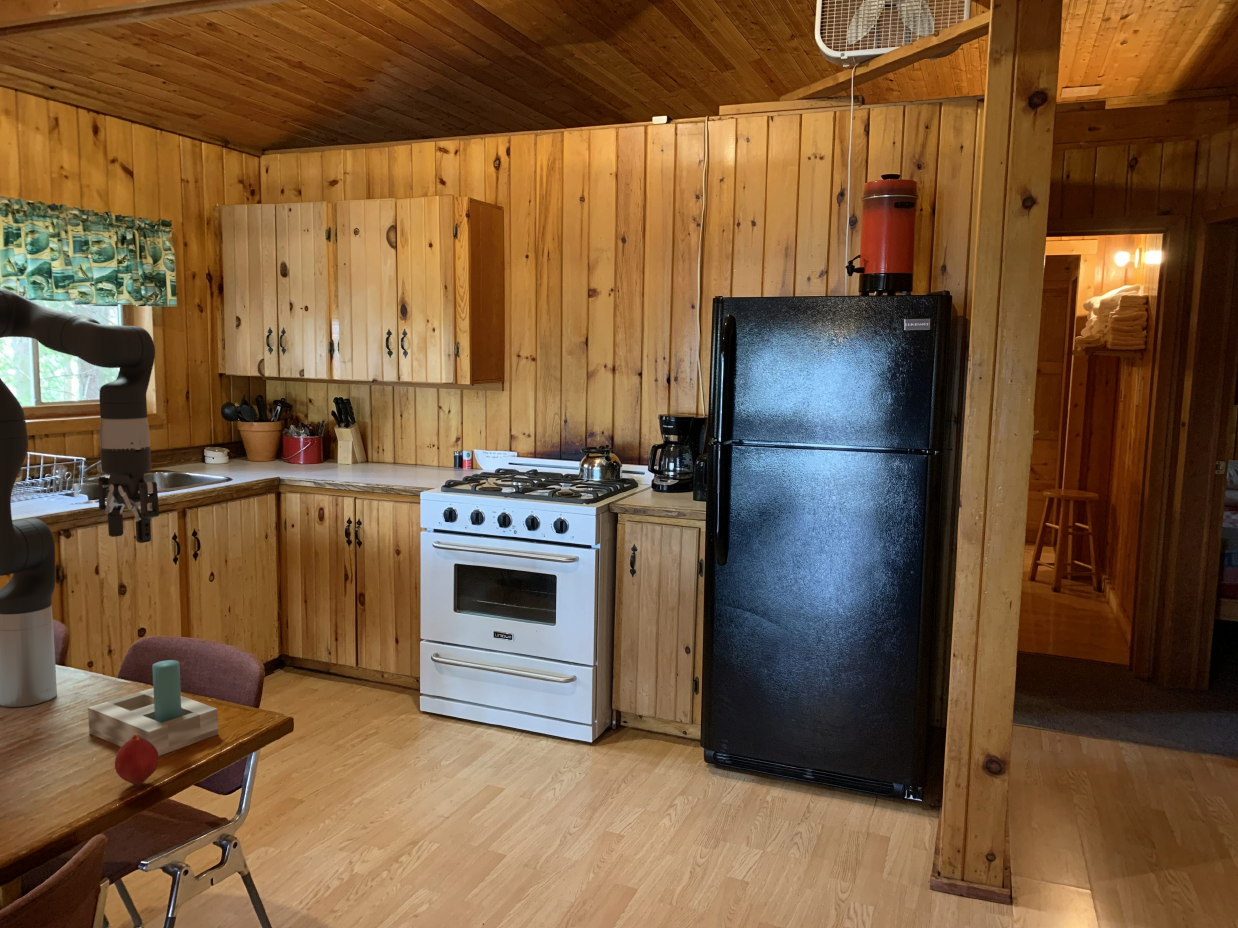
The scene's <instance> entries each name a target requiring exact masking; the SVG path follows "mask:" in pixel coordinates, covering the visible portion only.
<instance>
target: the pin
mask: <svg viewBox="0 0 1238 928" xmlns="http://www.w3.org/2000/svg"><path fill="white" fill-rule="evenodd" d="M151 667H152V685H153V687H152V688H153V690H154V711H155V721H158V722H160V723H163V722H166V721H169V720H172V719H175V718H178V717H181V716H182V712H181V696H182V694H181V693H182V692H181V691H182V690H181V671H180V667H181V666H180V661H178V660H173V659H169V660H161V661H158V662H155V663H153V664H152V665H151Z"/></svg>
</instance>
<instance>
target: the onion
mask: <svg viewBox="0 0 1238 928" xmlns="http://www.w3.org/2000/svg"><path fill="white" fill-rule="evenodd" d="M159 757H160V756H158V752H157V749H156V748H155V746H154V745H153V744H152V743H150V742H149V741H148V740H146V739H143V738H141V737H140V735H139V734H134V735H133V736H132V738H131V739H130V740H129V741H128V742H126V743H125V744H124V745H123V746H122V747H120V748H119V750H118V751H117V753H116V755H115V759H114V760H115V761H114V769H115V773H116V774H117V775H118V776H119V778H120V779H122V780H124V781H125V782H128V783H130V784H132V785H133V786H136V787H137V786H141V785H143V784H144V783H145V782H146V780H147V779H149V778H150V777H151V776H152V774H154V772H156V769H157V767H158V764H159V759H160V758H159Z"/></svg>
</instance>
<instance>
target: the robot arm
mask: <svg viewBox="0 0 1238 928" xmlns="http://www.w3.org/2000/svg"><path fill="white" fill-rule="evenodd" d="M10 337H11V338H29V339H34V340H37V342H38V343H39V344H41V346H43V347H45V348H47V349H50V350H52V351H55V352H59V353H62V354H66V355H68V356H72V357H73V356H74V357H76V358H78V359H81V360H82V361H84V362H85V363H88V364H90V365H92V366H96V367H99V368H105V369H106V368H107V369H119V371H118V374H117V377H116V378H115V380H113V381H109V382H108V383H105V384H103V385H101V387H100V389H99V413H100V415H99V416H100V417H99V418H100V423H99V425H100V426H99V450H100V465H101V468H100V470H101V472H102V473H103V474H104V475H102V476H101V475H100V476H98V479H97V480H98V481H97V482H98V508H99V510H100V511H104V513H105V515H106V516H107V525H108V526H107V527H108V536H109V537H113V538H116V537H121V536H123V535H124V519H123V516H124V515H123V514H122V513H123V512H124V508H125V507H126V506H127V509H128V510H129V511H131V512H132V514H133V515H134V516H133V517H134V518H135V538H136V539H135V541H136V543H138V544H139V543H140V544H144V543H149V542H151V540H152V527H151V525H152V524H151V521H152V519H154V518H157V517H159V516H160V508H159V507H160V505H159V495H158V483H157V482H156V481H154V480H152V481H146V480H145V474H146V473H149V472H151V471H152V456H151V436H150V434H151V431H150V426H149V419H148V406H147V405H148V404H147V403H148V402H147V393H148V392H147V391H148V388H149V384H150V381H151V376H152V372H153V371H152V370H153V368H154V365H155V364H154V363H155V358H156V347H155V343H154V340H153V337H152V336H151V334H150V333H149V332H148V331H147V330H146V329H144V328H142V327H140V326H137V325H135V326H134V325H113V324H112V325H111V324H102V323H101V322H99V321H98V320H96V319H94V318H92V317H88V316H85V315H81V314H77V313H74V312H73V313H72V312H70V311H65V310H61V309H60V310H59V309H55V308H51V307H47V306H45V305H42V304H39V303H36V301H35V302H34V301H32V300H31V299H28V298H26V297H24V296H22V295H20V294H18V293H16V292H14V291H11V290H9V289H7V288H4V287H1V286H0V339H1V338H10ZM28 451H29V437H28V429H27V423H26V415H25V412H24V409H23V408H22V405H21V404H20V402H19V400H18V398H16V396H15V395H14V393H13V392H12V390H10V388H9V387H8V386H7V385H6V383H5V382H4V381H3V380H2V379H1V377H0V577H3V576H8V575H12V577H11V578H10V580H9V581H8V582H7V583H6V584H5V585H4V586H3V587H2V588H1V589H0V706H2V707H7V708H8V707H9V708H20V707H21V708H23V707H29V706H34V705H38V704H42V703H45V702H47V701H50V700H52V699H54V698H55V697H56V696H57V695H58V689H57V688H58V686H57V669H56V668H57V667H56V666H57V665H56V654H55V653H56V652H55V636H54V635H55V634H54V632H55V631H54V619H53V618H54V617H53V603H52V602H53V600H52V598H53V594H54V591H55V588H56V543H55V538H54V535H53V532H52V530H51V528H50V527H49V526H48V524H47V523H46V522H44V520H41V519H39V518H33V517H32V518H29V517H28V518H23V519H17V520H13V518H12V504H11V503H12V501H11V500H12V493H13V488H14V485H15V483H16V480H17V478H18V476H19V474H20V472H21V470H22V467H23V464H24V463H25V461H26V460H25V459H26V458H27V454H28ZM150 505H151V507H150Z"/></svg>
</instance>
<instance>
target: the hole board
mask: <svg viewBox="0 0 1238 928" xmlns="http://www.w3.org/2000/svg"><path fill="white" fill-rule="evenodd" d="M87 712H88V713H87V717H88V732H89V733H88V734H91V735H92V736H94V737H97V738H100V739H101V740H104V741H107V742H109V743H111V744H113V745H115V746H118V747H120V748H121V747H122V746H123V745H124V744H125V743H126V742H128V741H129V740H130V739H131V738H132V736H133V735H134V734H139V735H140V737H141V738H143V739H146V740H148V741H149V742H150V743H152V744H153V745H154V746H155V748H156V749H157V752H158V756H159V757H160V756H162V755H165V754H168V753H170V752H174V751H177V750H179V749H183V748H184V747H187V746H190V745H193V744H195V743H198V742H201V741H204V740H206V739H210V738H212V737H215V736H218V735H219V719H218V718H219V717H218V708H216V707H214V706H212V705H209V704H205V703H203V702H200V701H197V700H194V699H191V698H188V697H185V696H182V695H181V712H182V716H181V717H178V718H175V719H172V720H169V721H166V722H163V723H160V722H158V721H155V711H154V690H153V687H152V688H149V689H145V690H142V691H138V692H135V693H131V694H128V695H125V696H122V697H119V698H118V697H117V698H115V699H111V700H108V701H105V702H102V703H99V704H95V705H92V706H91V705H90V706H89V707H87Z"/></svg>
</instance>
